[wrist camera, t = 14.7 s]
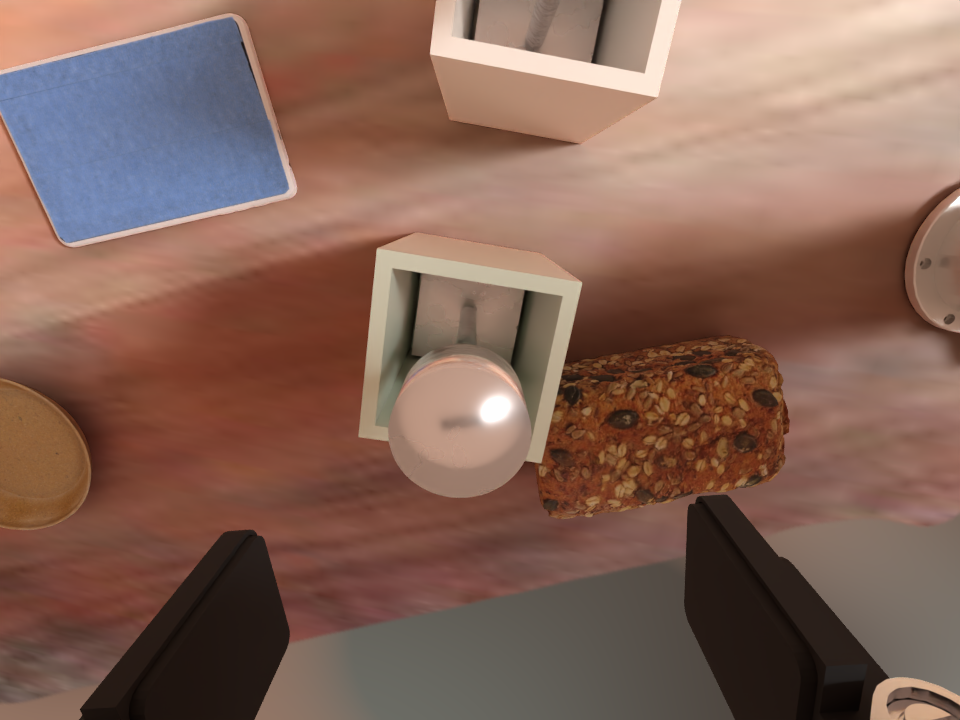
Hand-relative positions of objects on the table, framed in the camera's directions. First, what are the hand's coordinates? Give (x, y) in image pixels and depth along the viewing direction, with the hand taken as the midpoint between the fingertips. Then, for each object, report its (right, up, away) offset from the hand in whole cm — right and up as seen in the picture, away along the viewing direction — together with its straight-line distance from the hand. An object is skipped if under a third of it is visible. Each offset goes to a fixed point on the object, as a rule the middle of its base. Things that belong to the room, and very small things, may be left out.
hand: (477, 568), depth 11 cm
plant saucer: (-41, -3, +33) cm, 53 cm away
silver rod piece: (-1, +8, +26) cm, 27 cm away
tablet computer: (-25, +21, +26) cm, 42 cm away
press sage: (-1, +9, +29) cm, 31 cm away
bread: (+13, +1, +32) cm, 35 cm away
